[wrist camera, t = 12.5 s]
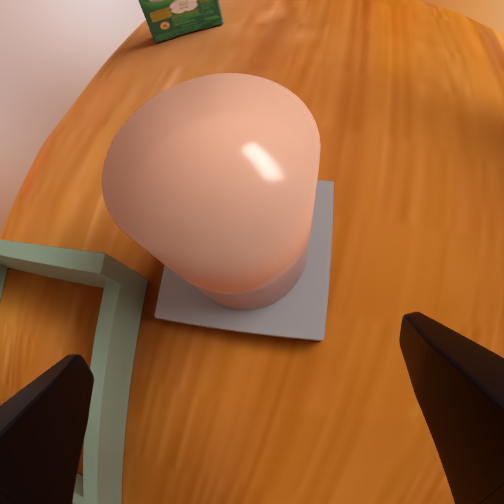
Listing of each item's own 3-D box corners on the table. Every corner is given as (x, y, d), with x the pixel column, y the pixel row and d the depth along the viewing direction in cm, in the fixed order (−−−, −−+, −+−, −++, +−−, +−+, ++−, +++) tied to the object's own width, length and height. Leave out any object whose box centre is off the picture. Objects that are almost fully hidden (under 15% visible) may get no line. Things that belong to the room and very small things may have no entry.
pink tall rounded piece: (260, 335, 15) (221, 308, 7) (165, 265, 17) (69, 184, 9) (330, 233, 17) (359, 118, 8) (234, 178, 18) (196, 57, 10)
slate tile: (321, 341, 16) (323, 340, 15) (162, 320, 17) (154, 317, 16) (331, 191, 19) (333, 181, 18) (192, 183, 20) (186, 173, 19)
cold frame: (121, 504, 13) (79, 532, 9) (-17, 420, 16) (-57, 420, 11) (148, 279, 18) (105, 253, 14) (5, 255, 21) (-35, 234, 16)
